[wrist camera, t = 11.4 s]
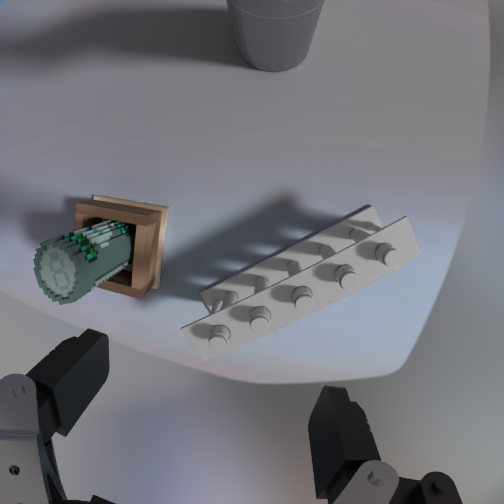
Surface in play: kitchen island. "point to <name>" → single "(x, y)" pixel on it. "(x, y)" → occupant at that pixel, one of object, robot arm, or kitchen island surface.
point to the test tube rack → (300, 281)
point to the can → (83, 259)
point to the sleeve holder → (146, 241)
